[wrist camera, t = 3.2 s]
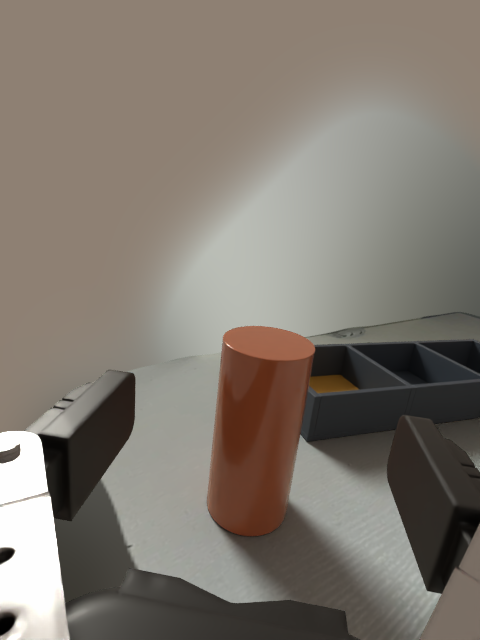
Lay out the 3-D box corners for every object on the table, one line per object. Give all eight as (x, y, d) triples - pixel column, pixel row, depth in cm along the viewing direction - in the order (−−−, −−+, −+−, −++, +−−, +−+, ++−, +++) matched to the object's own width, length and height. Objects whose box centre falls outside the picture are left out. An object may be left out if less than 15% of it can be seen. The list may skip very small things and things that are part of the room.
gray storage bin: (306, 441, 34) (315, 397, 32) (258, 382, 44) (263, 346, 42) (544, 408, 45) (558, 374, 44) (463, 367, 55) (472, 339, 54)
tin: (220, 545, 23) (241, 362, 19) (198, 481, 28) (212, 326, 24) (300, 527, 25) (333, 358, 21) (267, 470, 30) (289, 325, 26)
